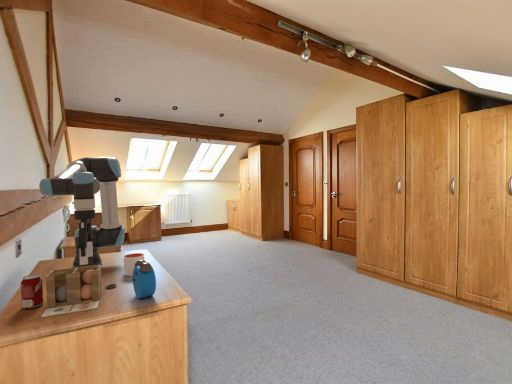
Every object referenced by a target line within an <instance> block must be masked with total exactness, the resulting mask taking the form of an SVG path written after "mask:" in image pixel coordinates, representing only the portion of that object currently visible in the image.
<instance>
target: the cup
mask: <svg viewBox="0 0 512 384" xmlns="http://www.w3.org/2000/svg"><path fill="white" fill-rule="evenodd" d="M139 260H145V254H144V253H141V252H140V253H139V252H138V253H137V252H135V253H128V254H126V255H123V274H124V276H126V277H133V269H134V267H135V263H136V262H137V261H139Z"/></svg>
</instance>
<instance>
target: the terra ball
mask: <svg viewBox="0 0 512 384" xmlns="http://www.w3.org/2000/svg"><path fill="white" fill-rule="evenodd" d="M91 271H94V270H92V269H91V270H87V271H86V272H85V273H84V274H83V276H82V280H83V282H84V283H86V284H91Z"/></svg>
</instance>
